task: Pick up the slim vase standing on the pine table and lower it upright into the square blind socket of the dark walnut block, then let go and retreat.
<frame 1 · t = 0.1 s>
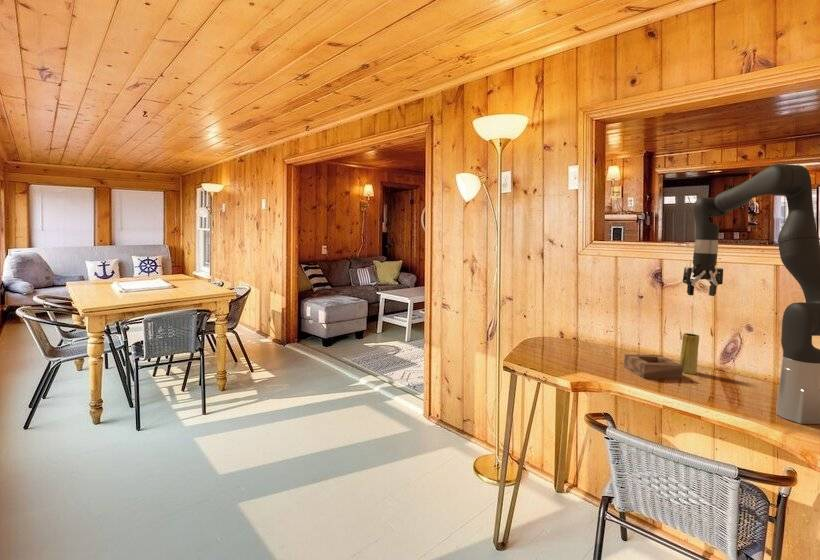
hand: (701, 295, 176), 29 cm above the table, fingers open, 8 cm apart
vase: (687, 372, 177), on the table
bore block: (651, 372, 174), on the table
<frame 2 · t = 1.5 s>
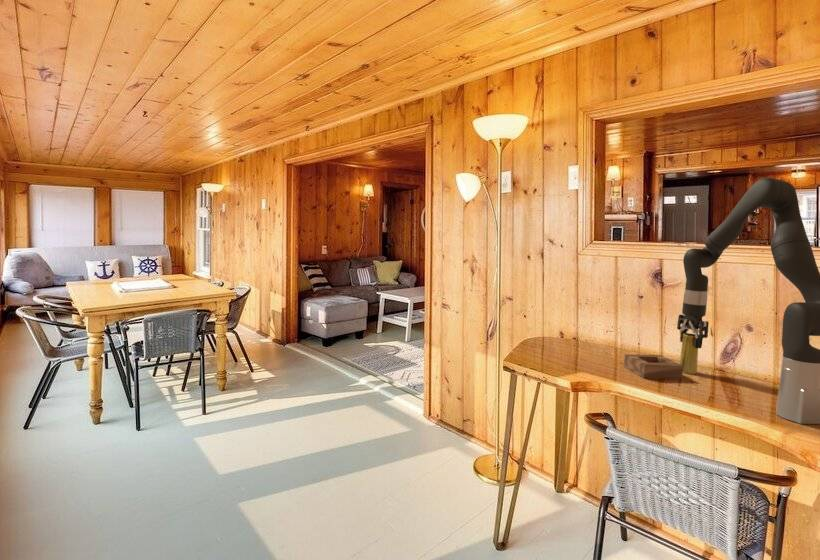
hand: (690, 345, 176), 10 cm above the table, fingers open, 8 cm apart
nothing on the table moved.
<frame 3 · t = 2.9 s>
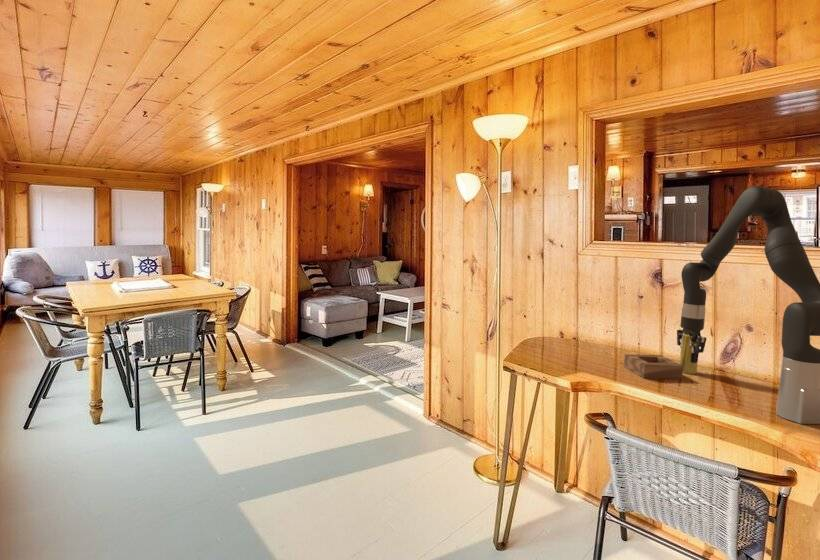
hand: (688, 360, 177), 5 cm above the table, fingers closed on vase, 5 cm apart
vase: (687, 372, 177), on the table, touching gripper
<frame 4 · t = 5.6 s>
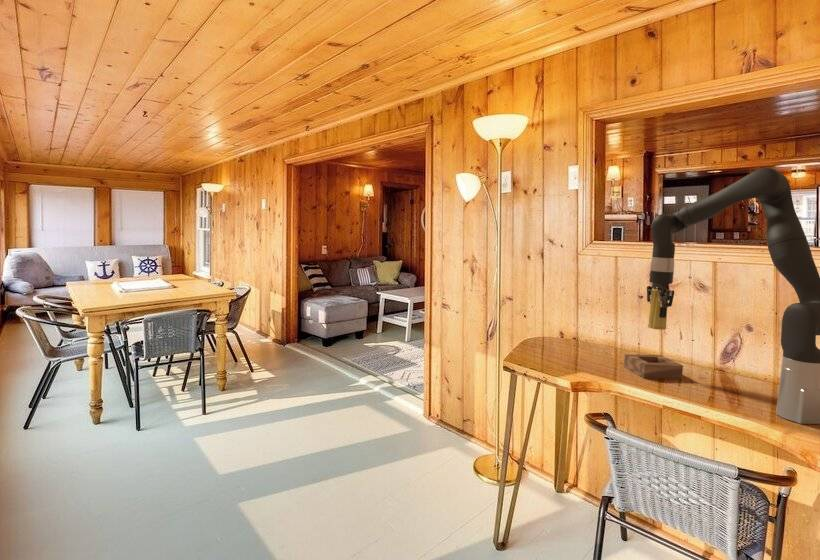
hand: (657, 315, 172), 21 cm above the table, fingers closed on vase, 5 cm apart
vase: (656, 328, 173), point 17 cm above the table, touching gripper
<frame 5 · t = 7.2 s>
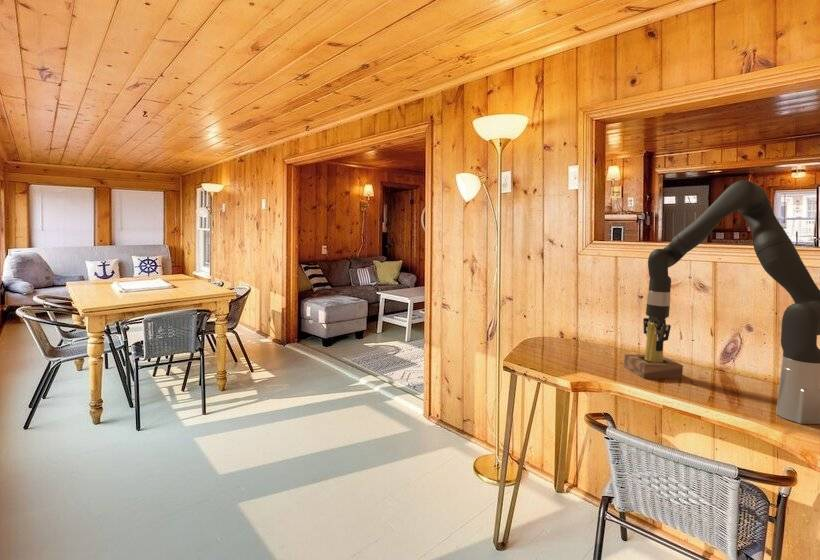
hand: (654, 348, 173), 9 cm above the table, fingers closed on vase, 5 cm apart
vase: (653, 361, 174), point 4 cm above the table, touching gripper
when the fingers open (6 cm above the table, at t = 8.6 s): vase stays where it is, resting on bore block.
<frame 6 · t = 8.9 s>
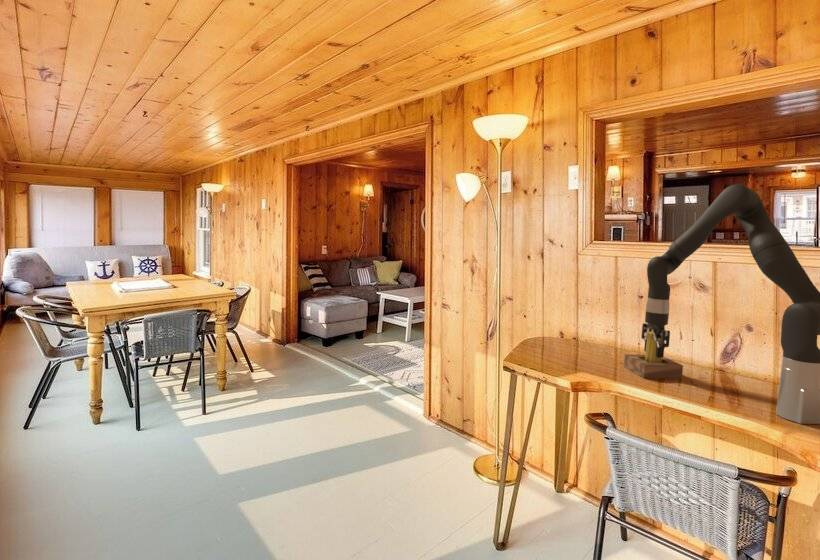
hand: (653, 354, 174), 7 cm above the table, fingers open, 7 cm apart
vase: (652, 370, 174), point 1 cm above the table, touching bore block
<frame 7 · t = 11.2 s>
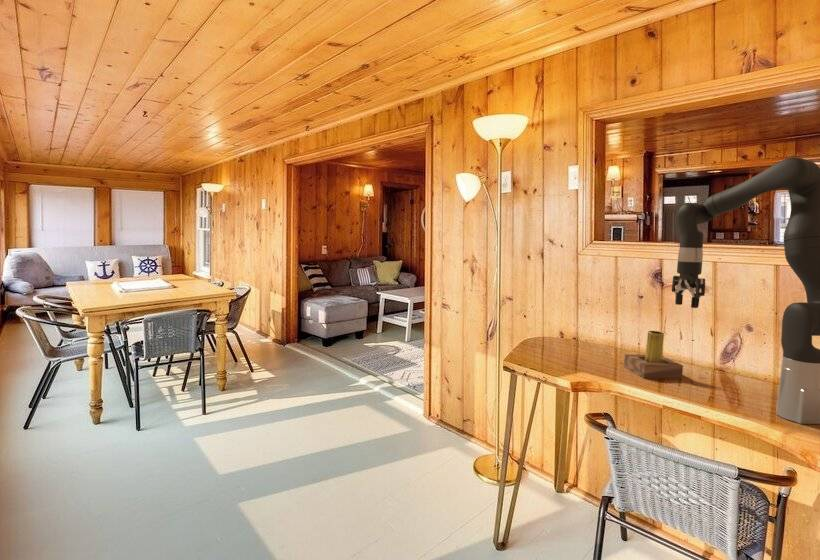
hand: (686, 306, 168), 26 cm above the table, fingers open, 8 cm apart
nothing on the table moved.
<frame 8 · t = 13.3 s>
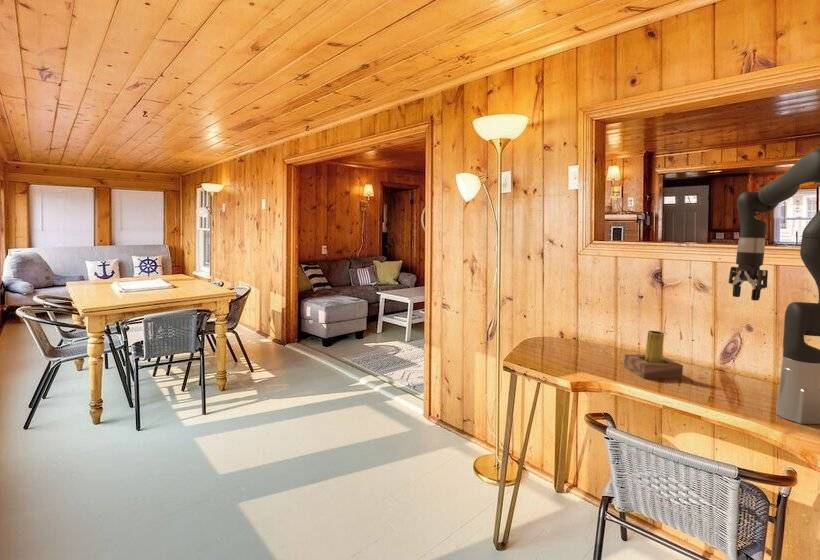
hand: (745, 298, 161), 30 cm above the table, fingers open, 8 cm apart
nothing on the table moved.
at the end: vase 0.2 cm off-centre on the bore block, point 0.9 cm above the bore block's base; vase tilted 0°; the gripper is holding nothing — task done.
